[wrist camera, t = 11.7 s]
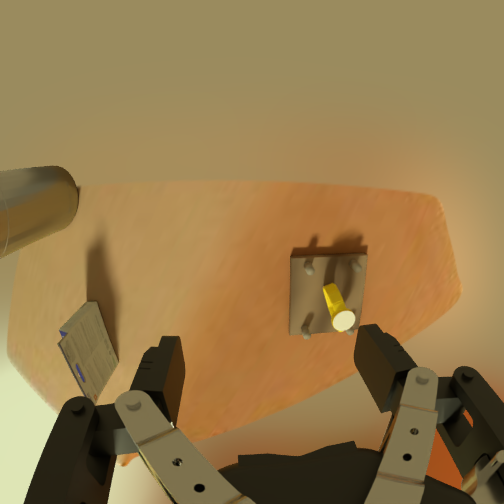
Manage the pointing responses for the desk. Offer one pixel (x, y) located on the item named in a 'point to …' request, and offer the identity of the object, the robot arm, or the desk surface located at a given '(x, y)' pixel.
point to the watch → (338, 308)
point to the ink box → (88, 350)
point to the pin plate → (311, 290)
